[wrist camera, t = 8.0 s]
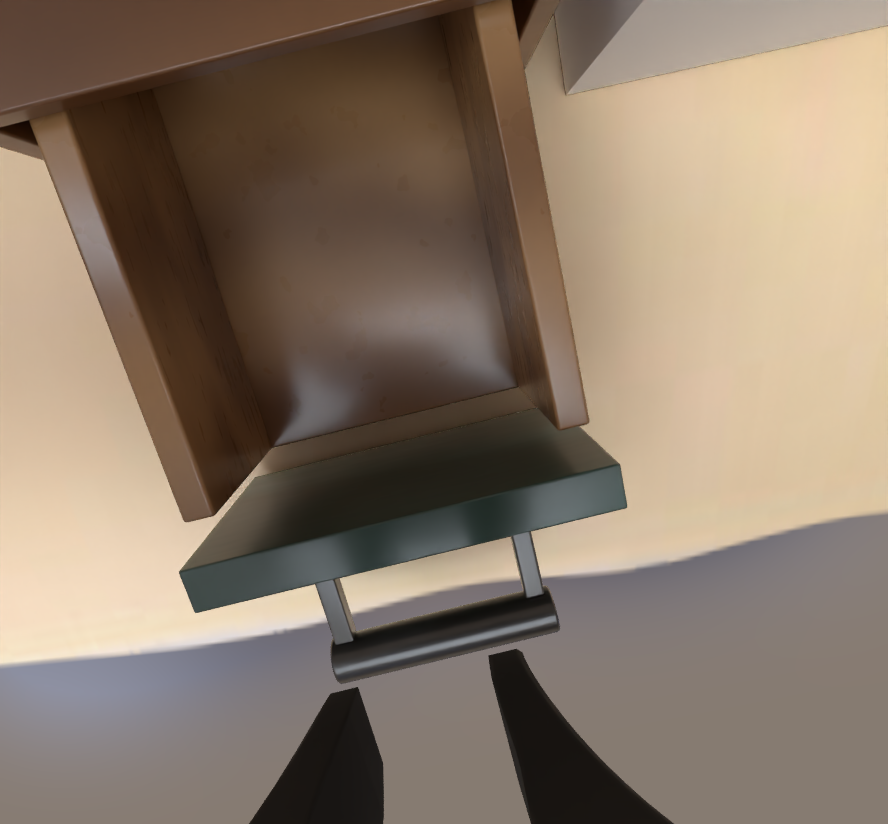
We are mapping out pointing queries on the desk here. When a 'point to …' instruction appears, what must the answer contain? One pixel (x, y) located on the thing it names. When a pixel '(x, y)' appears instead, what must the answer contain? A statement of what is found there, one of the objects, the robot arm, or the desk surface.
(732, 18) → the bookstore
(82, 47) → the cabinet
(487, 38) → the drawer
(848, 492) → the desk surface
